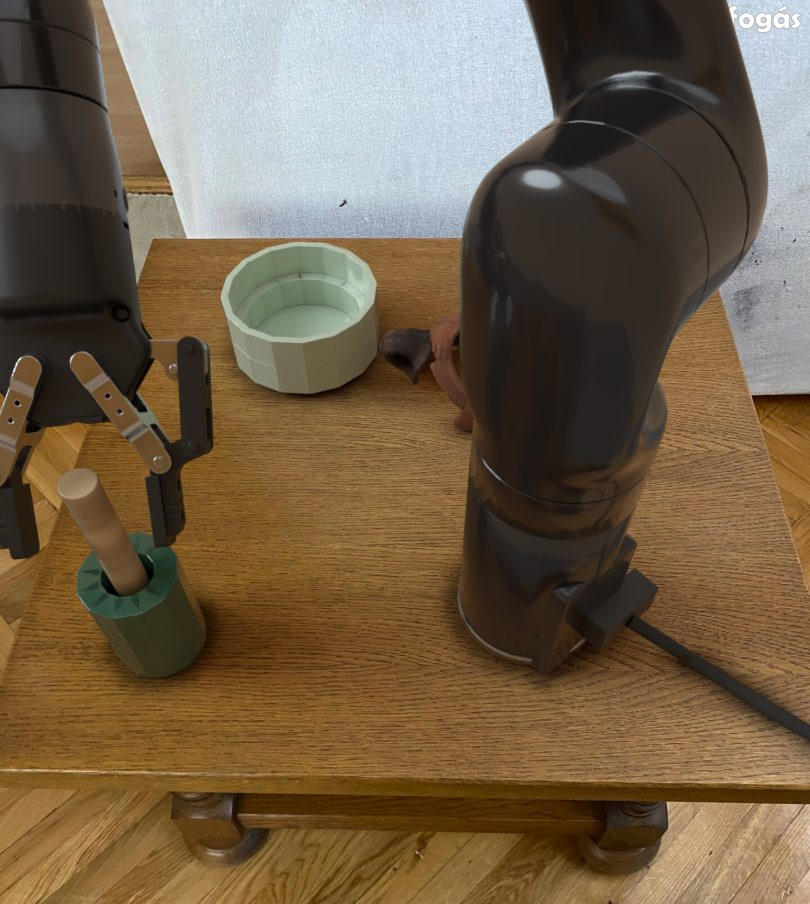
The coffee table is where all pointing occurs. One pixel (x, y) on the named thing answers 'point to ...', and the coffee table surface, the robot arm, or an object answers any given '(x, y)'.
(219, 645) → the coffee table surface
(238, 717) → the coffee table surface
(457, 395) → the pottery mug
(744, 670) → the coffee table surface
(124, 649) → the utensil pot
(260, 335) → the bowl
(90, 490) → the stick
